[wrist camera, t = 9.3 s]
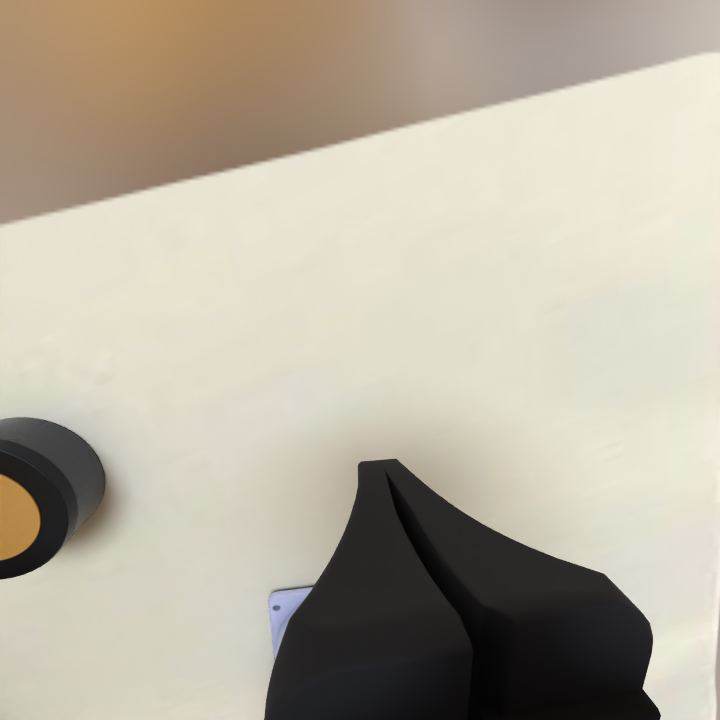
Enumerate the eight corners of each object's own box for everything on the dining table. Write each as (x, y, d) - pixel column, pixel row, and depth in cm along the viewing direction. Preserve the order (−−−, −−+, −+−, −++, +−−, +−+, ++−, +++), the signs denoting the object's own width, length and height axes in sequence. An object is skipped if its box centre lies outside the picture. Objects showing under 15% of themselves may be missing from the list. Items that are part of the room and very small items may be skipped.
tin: (118, 526, 21) (82, 571, 17) (-22, 540, 20) (-86, 590, 17) (91, 411, 19) (46, 438, 16) (-64, 421, 18) (-146, 452, 15)
